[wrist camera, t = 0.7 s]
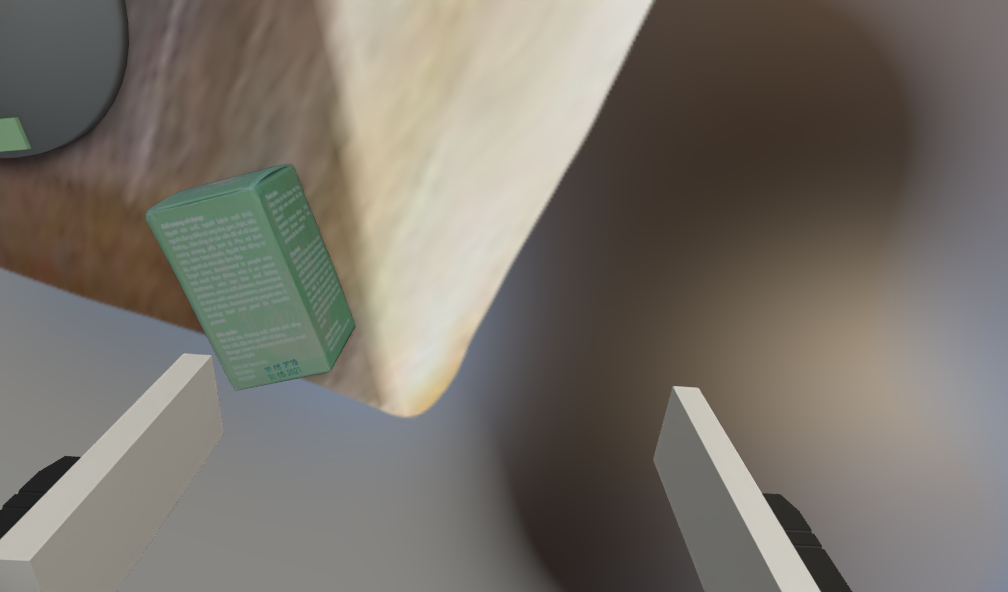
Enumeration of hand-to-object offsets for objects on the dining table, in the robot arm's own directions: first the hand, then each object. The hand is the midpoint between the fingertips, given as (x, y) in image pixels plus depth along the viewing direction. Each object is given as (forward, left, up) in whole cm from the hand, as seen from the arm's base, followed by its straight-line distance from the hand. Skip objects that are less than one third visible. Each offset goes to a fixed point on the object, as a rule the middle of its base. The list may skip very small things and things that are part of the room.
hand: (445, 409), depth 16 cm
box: (+4, -15, -26) cm, 30 cm away
